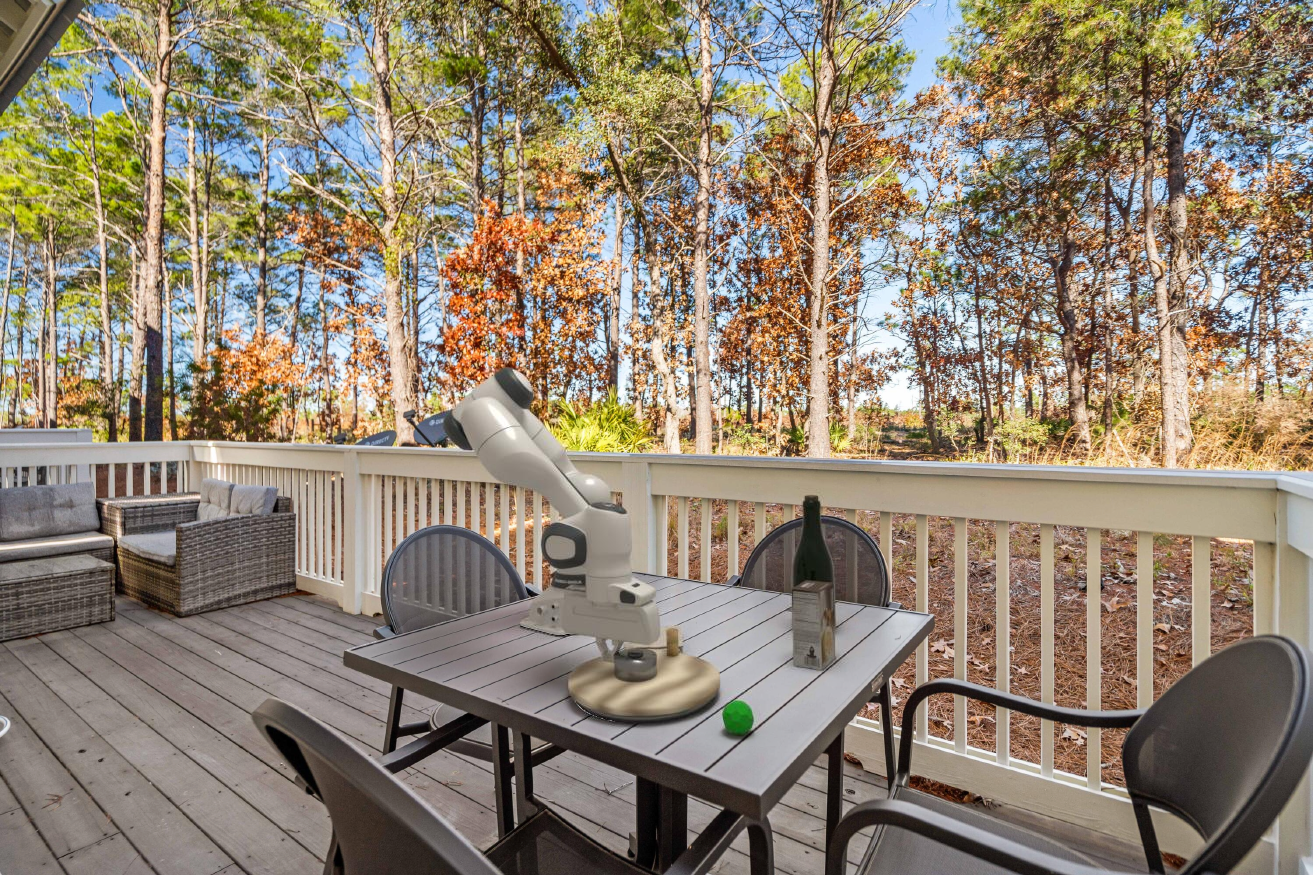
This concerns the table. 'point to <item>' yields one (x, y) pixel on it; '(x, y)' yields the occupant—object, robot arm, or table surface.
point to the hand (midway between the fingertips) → (609, 661)
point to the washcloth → (662, 641)
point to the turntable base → (646, 718)
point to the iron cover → (635, 665)
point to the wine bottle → (812, 549)
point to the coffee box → (813, 624)
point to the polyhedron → (738, 717)
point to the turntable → (647, 685)
